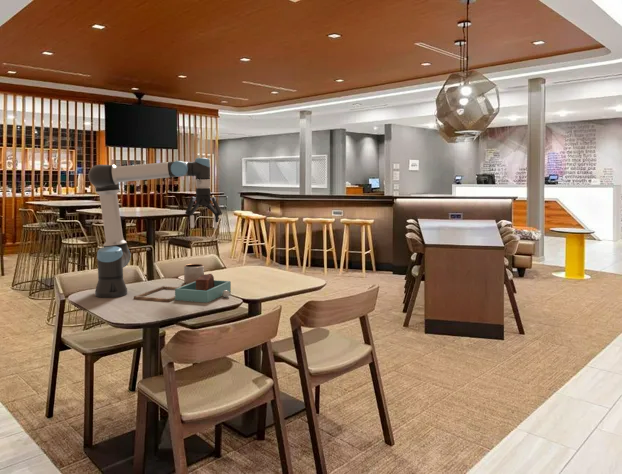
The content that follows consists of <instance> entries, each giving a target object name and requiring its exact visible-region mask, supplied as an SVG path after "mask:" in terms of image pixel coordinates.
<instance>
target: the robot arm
mask: <svg viewBox="0 0 622 474" xmlns="http://www.w3.org/2000/svg"><path fill="white" fill-rule="evenodd" d="M176 177H180V178H181V177H195V187H196V188H195V196H191V197H190V200H189V203H188V205H187V208H186V210H185V213H184V214H185V215H188V221H189V222H190V225H189V227H190V229H193V228H195V215H194V214H195V212H196V211H197V210H198V208H199V207H202V206H206V207H208V209H209V210H210V212H211V213H212V214H213V215H214V216H213V229H214V230H217V229H218V223H219V220H220V219H219V217H220V216H222V215H223V212H222V210H221V208H220V205H219V204H218V201H217V197H216V196H213V197H211V192H212V191H211V162H210V159H209V158H207V157H196V158H195V160H194V161H183V160H176V161H167V162H156V163H154V162H153V163H143V164H142V163H141V164H132V165H123V166H122V165H121V166H119V165H118V166H117V165H115V164H95V165H94V166H92V167H91V168H90V170H89V171H88V177H87V178H88V181H89V182H90V184H91V185H92V186H94V189H95V194H97V195H99V201H100V207H101V209H100V211H101V216H102V222H103V230H104V237H105V242H104V244H102V245H103V247H101V248H99V249H98V250H97V252H96V259H97V278H98V279H97V283H96V288H95V290H94V295H95V297H97V298H105V299H107V298H109V299H110V298H118V297H123V296H126V295H128V288H127V285H126V282H125V279H124V268H125V267H127V266H128V265H129V263H130V261H131V255H132V253H131V252H130V249H129V248H128V242H127V241H126V240H125V239H124V235H123V228H122V219H121V214H120V205H119V200H118V199H119V198H118V193H119V191H120V190H121V189H120V183H123V182H134V181H144V180H146V181H147V180H157V179H166V178H176ZM195 201H196V203H195ZM211 202H212V203H211Z"/></svg>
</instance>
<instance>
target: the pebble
mask: <svg viewBox="0 0 622 474" xmlns="http://www.w3.org/2000/svg"><path fill="white" fill-rule="evenodd" d="M230 293H231V292H229V291H228V290H224V291H223V292H222V297H224V298H228V297H230Z"/></svg>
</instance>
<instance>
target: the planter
mask: <svg viewBox="0 0 622 474" xmlns="http://www.w3.org/2000/svg"><path fill="white" fill-rule="evenodd" d="M204 267H205V265H204V264H202V263H189V264H185V265H183V282H184V283H185V284H186V285H187V284H189V283H192V282H195V281H196V280H197V279H198V278H200V277H201V276H202V275H205V268H204Z"/></svg>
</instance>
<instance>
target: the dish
mask: <svg viewBox="0 0 622 474" xmlns="http://www.w3.org/2000/svg"><path fill="white" fill-rule="evenodd" d="M214 286H215V287H214V288H211V289H209V290H207V291H203V290H196V281H195V282H192V283H189V284H187V283H186V284H185V285H182V286H178V287H179V288H176V289H175V290H174V296H175V300H174V301H181V300H183V301H184V302H193V301H194V302H195V303H210V302H212V301H214V300H216V299H218V298H220V297H223V295H222V292H223V291H224V290H228V291H229V293H231V292H232V288H231V281H229V280H219V279H218V280H216V279H214Z"/></svg>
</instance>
